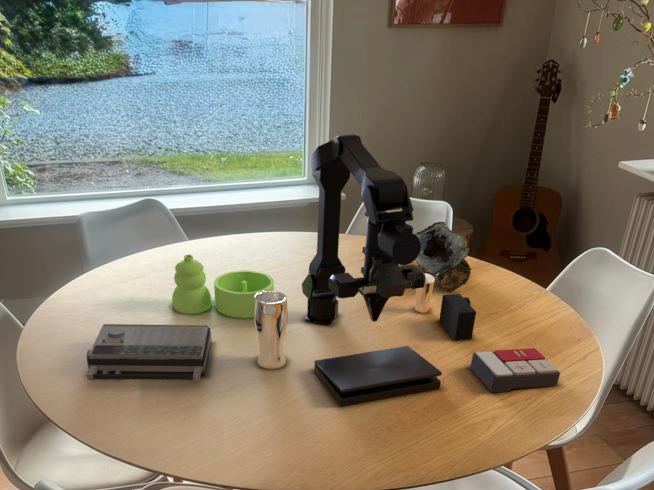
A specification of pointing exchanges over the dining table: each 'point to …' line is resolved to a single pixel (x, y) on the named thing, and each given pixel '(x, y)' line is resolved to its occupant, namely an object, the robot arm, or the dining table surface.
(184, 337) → the radio
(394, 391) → the dark flat rectangular base
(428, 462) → the dining table surface
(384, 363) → the netbook screen
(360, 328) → the dining table surface
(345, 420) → the dining table surface
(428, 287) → the shiny metal cylinder
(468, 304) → the digital camera
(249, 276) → the green toy parts
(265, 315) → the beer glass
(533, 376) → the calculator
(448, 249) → the hollow geode rock
